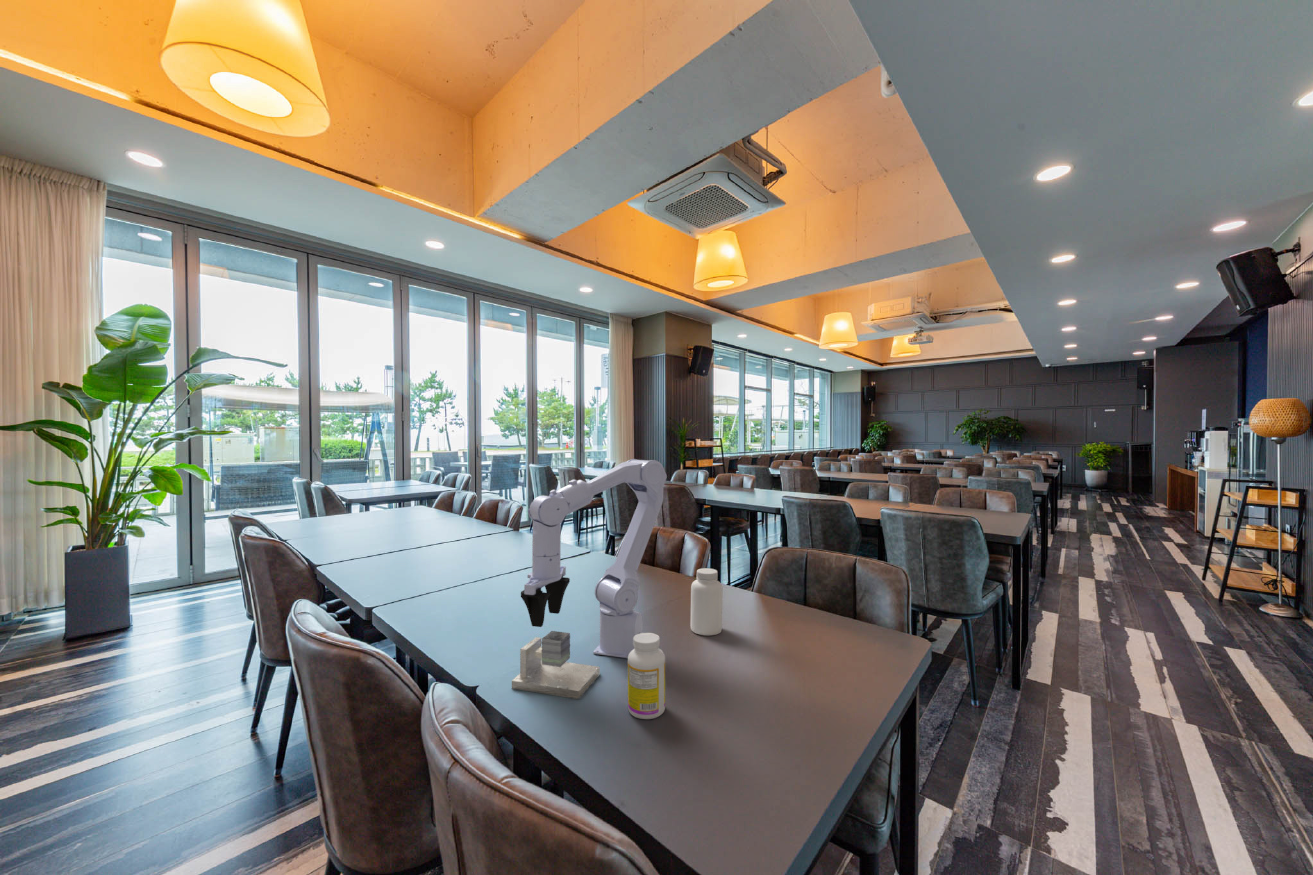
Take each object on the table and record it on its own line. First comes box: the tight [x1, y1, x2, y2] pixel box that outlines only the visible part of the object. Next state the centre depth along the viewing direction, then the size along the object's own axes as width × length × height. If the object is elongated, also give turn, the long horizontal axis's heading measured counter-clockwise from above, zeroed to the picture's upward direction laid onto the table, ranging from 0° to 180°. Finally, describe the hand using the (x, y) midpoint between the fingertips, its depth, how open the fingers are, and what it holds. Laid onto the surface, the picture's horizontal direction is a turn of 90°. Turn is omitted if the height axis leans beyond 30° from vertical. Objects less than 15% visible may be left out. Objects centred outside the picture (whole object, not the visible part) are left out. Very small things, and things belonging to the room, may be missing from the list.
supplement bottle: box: [627, 632, 666, 720], centre depth 85 cm, size 7×7×13 cm
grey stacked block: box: [541, 630, 571, 667], centre depth 95 cm, size 4×4×5 cm
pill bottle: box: [689, 567, 724, 636], centre depth 122 cm, size 8×8×15 cm
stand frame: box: [511, 636, 601, 700], centre depth 96 cm, size 14×10×7 cm
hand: (546, 619), depth 101 cm, fingers open, 7 cm apart
